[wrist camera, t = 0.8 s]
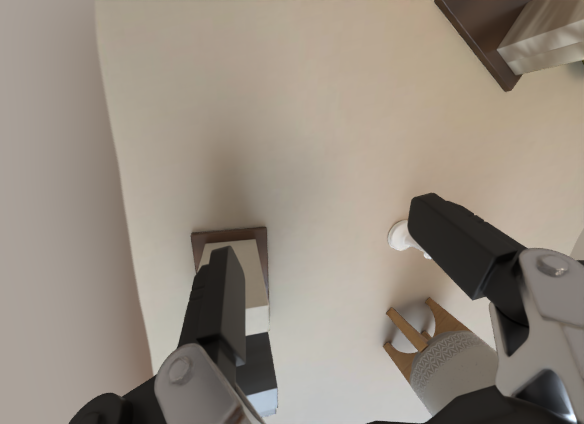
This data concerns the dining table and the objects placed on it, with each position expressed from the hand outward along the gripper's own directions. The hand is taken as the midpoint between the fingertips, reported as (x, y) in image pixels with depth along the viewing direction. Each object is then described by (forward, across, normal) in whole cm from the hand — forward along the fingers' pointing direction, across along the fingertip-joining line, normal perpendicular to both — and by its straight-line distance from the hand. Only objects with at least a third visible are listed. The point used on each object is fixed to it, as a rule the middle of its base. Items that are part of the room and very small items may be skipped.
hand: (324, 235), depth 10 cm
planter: (+11, -16, +38) cm, 43 cm away
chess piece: (+16, -16, +19) cm, 30 cm away
